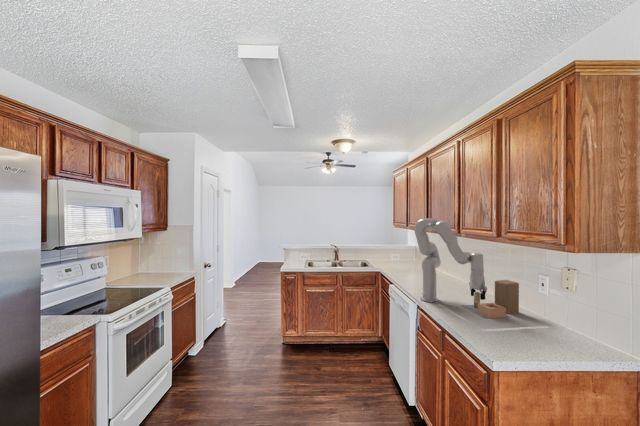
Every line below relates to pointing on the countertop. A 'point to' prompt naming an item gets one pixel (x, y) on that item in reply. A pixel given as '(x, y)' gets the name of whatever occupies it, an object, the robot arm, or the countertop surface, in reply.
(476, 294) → the birch dowel
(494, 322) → the countertop surface
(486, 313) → the terracotta box
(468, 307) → the charcoal mat
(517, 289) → the wooden block
